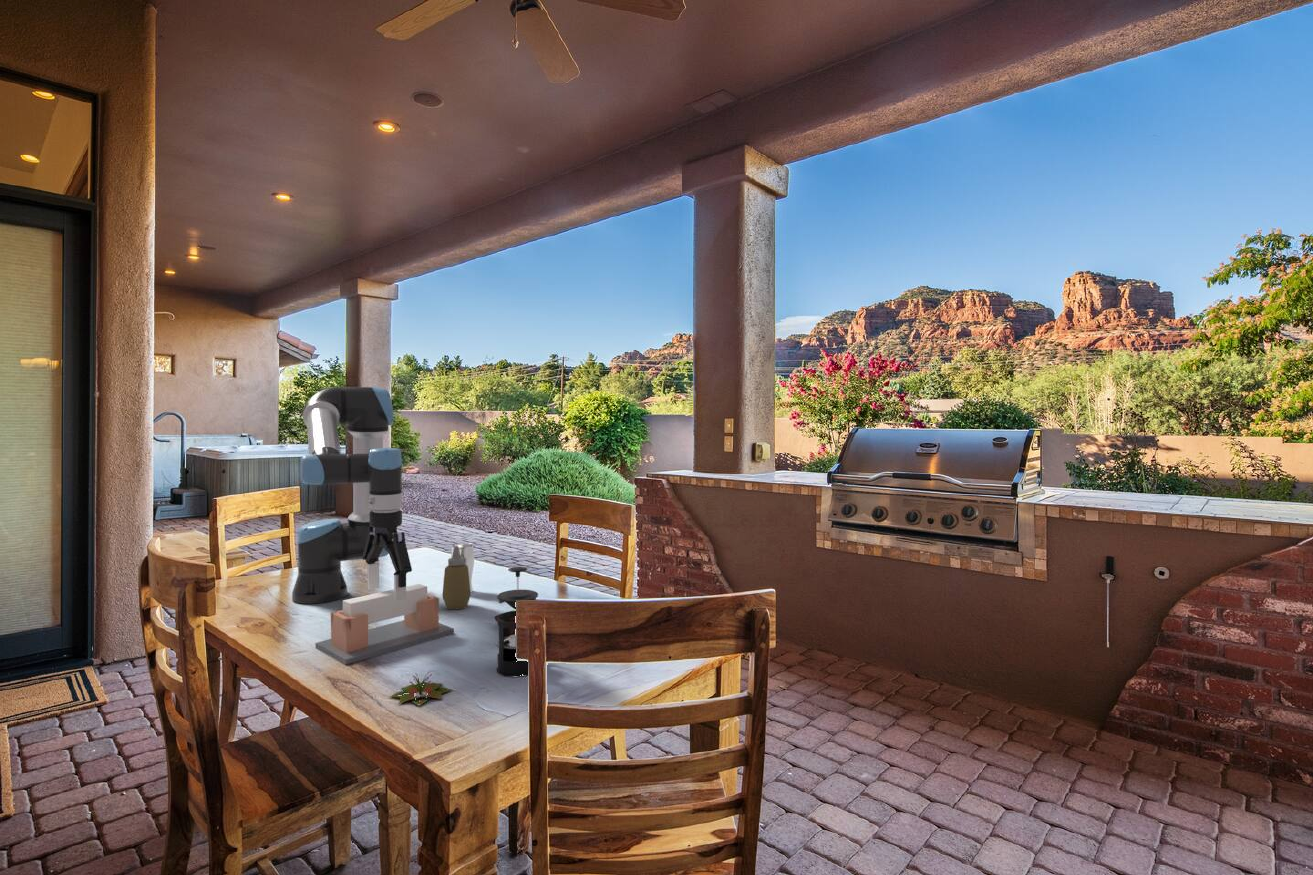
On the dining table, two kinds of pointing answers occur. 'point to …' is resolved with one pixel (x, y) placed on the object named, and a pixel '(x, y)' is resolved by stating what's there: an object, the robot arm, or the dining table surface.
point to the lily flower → (427, 687)
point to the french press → (507, 641)
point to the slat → (385, 604)
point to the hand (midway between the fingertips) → (386, 594)
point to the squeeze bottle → (456, 582)
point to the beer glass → (467, 558)
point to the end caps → (382, 633)
